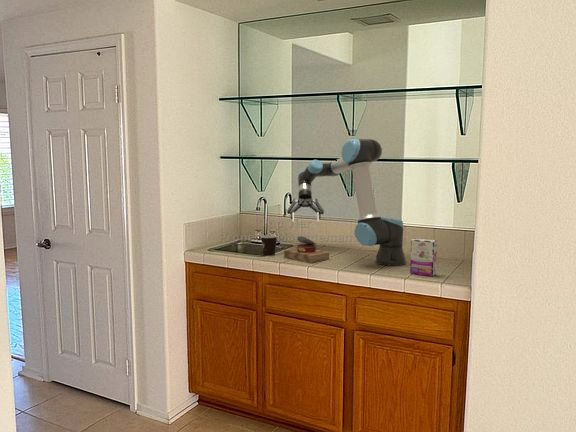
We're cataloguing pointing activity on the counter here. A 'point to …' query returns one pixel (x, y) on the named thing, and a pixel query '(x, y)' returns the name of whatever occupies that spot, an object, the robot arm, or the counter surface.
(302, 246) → the canned food
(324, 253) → the block
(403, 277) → the counter surface
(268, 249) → the coffee mug
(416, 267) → the candy bar box
